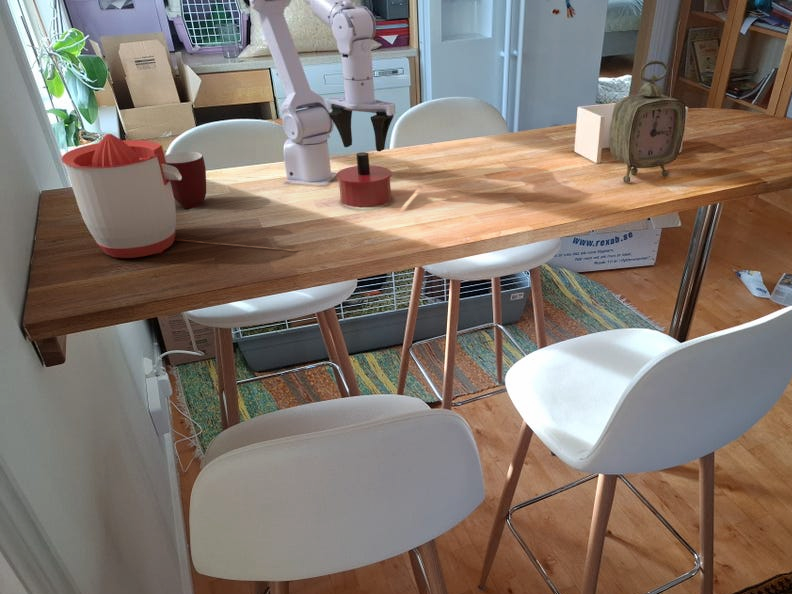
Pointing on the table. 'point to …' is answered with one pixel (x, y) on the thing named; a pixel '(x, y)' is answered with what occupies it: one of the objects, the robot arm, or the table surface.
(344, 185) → the tin
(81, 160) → the citrus juicer
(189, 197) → the mug
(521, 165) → the table surface
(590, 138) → the storage container
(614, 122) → the tabletop clock
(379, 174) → the tin lid
